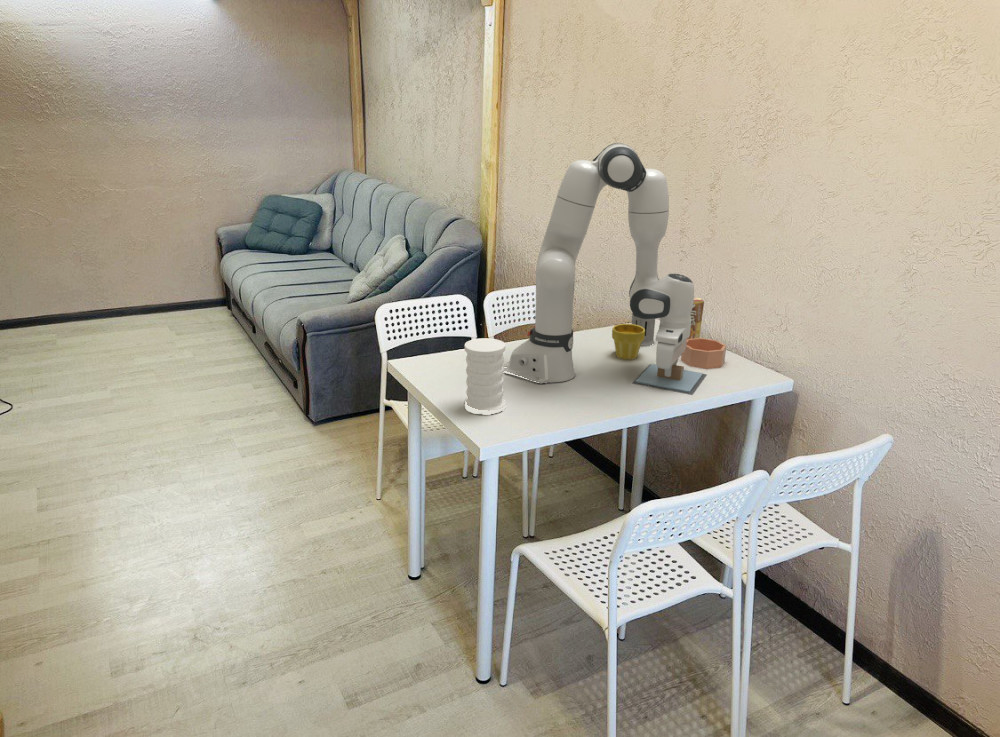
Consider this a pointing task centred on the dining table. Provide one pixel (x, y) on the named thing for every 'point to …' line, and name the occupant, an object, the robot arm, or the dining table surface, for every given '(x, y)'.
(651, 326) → the glass holder
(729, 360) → the dining table surface
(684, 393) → the mat
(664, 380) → the sheet
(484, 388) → the decorative container
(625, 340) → the plant pot
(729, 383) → the dining table surface
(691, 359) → the bowl
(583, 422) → the dining table surface
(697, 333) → the candy box
